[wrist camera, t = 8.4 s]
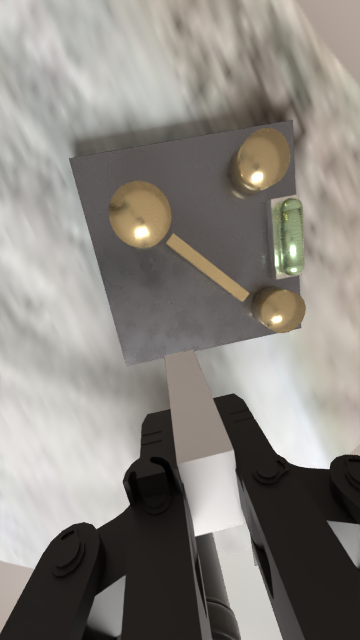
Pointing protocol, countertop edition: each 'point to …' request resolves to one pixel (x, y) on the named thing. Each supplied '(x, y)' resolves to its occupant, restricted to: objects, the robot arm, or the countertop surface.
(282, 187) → the levelling base
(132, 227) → the brass ladle
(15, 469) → the countertop surface
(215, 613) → the water bottle
